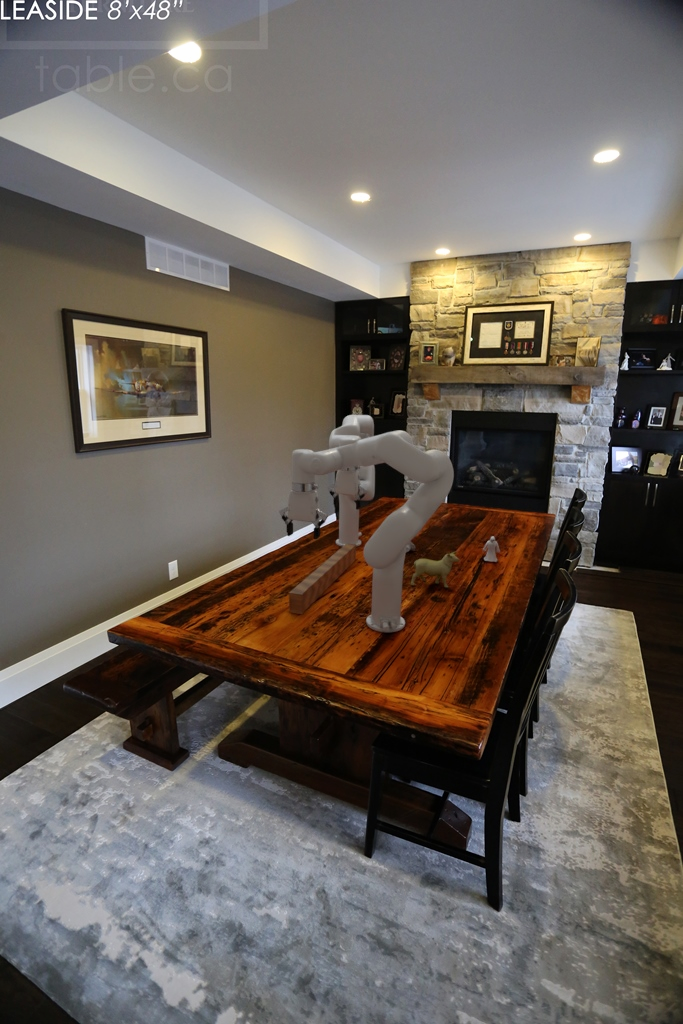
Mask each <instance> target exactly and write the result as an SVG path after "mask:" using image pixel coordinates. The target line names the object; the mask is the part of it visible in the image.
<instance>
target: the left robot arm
mask: <svg viewBox="0 0 683 1024" xmlns="http://www.w3.org/2000/svg"><path fill="white" fill-rule="evenodd" d="M374 423H375V422H374V418H373V417H372V416H371V415H368V414H349V415H347V416H345V417H344V418H343V420H342V424H341V426H338V427H337V428H336V427H335V428H334V429H333V430H332V431H331V433H330V435H329V439H328V449H332V448H337V447H341V446H345V445H349V444H353V443H355V442H357V441H358V440H360V439H364V438H368V437H373V436H375V424H374ZM333 488H334V490H333ZM327 490H328V492H329V494H330V495H331V496H332V498H333V499H332V501H333V503H332V505H333V507H334V508H337V507H338V508H339V511H338V513H339V514H338V519H339V520H338V538H337V539H336V540H335V545H337V546H338V547H341V548H342V547H343V546H344V545H345V544H346V543H349V544H356V548H357V547H360V546H361V545H362V540H360V539H359V538H360V537H361V536H363V534H362V532H361V531H359V527H360V509H361V508H362V501H372V500H373V499H374V497H375V492H376V467H375V465H371V466H367V467H363V466H355V467H350V468H346V469H342V470H338V471H336V475H335V481H334V483H332V484H331V485H329V486H327Z"/></svg>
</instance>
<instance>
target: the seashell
mask: <svg viewBox="0 0 683 1024" xmlns="http://www.w3.org/2000/svg"><path fill="white" fill-rule="evenodd" d="M416 548H417V546H416V544H414V543H413V542H412V540H411V541H410V542H409V543H408V544H407V545H406V553H408V552H410V551H412V552H413V551H416Z"/></svg>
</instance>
